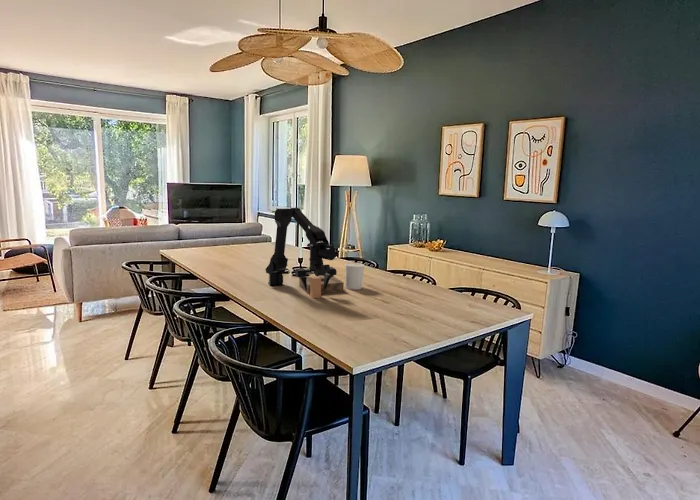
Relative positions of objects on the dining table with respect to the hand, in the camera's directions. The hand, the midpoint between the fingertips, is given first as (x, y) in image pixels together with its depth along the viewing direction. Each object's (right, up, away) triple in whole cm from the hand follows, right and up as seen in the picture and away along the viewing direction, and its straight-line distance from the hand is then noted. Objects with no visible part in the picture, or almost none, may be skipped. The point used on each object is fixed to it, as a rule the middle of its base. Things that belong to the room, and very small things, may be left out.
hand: (315, 289), depth 204 cm
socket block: (+2, -1, +15) cm, 15 cm away
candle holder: (+18, -1, +19) cm, 27 cm away
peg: (0, -3, 0) cm, 3 cm away
